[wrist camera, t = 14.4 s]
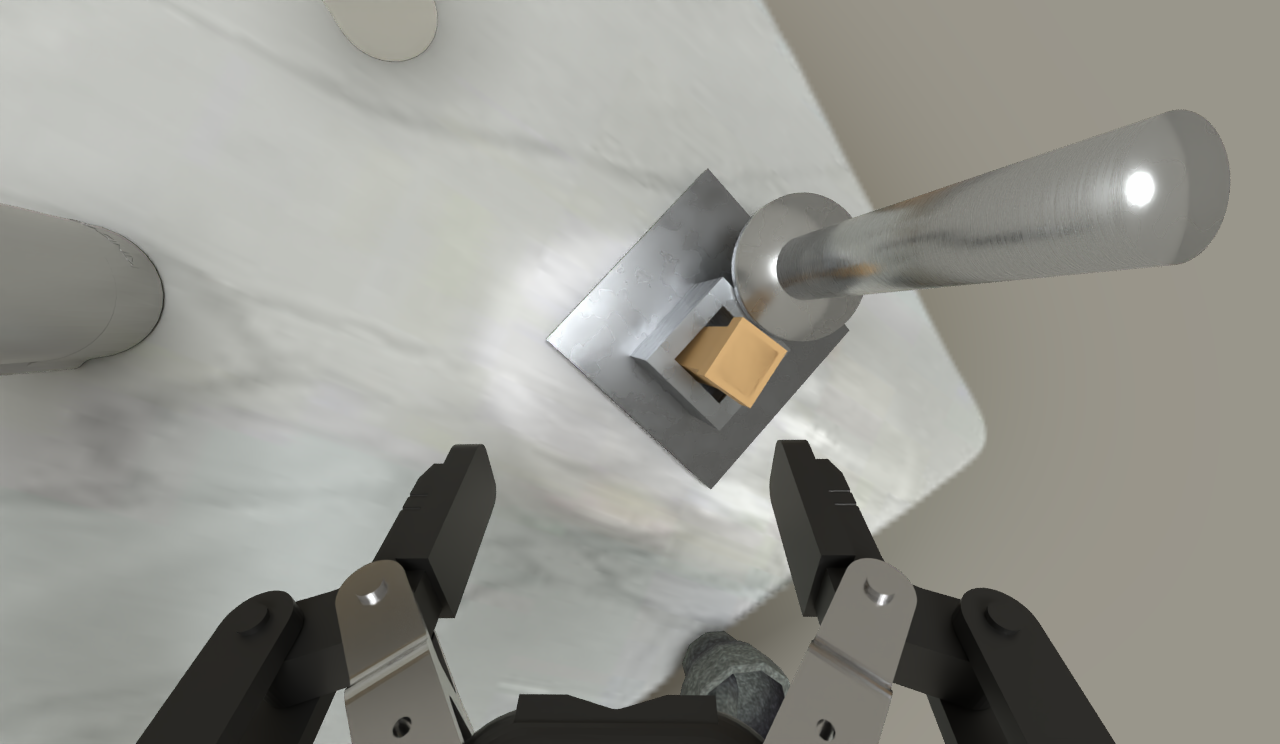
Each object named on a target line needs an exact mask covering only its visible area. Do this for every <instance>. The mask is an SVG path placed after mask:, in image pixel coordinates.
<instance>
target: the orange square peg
mask: <svg viewBox="0 0 1280 744" xmlns="http://www.w3.org/2000/svg"><path fill="white" fill-rule="evenodd" d="M786 352H787V350H786V349H784V348H783V347H782V346H780V345H779V344H778V343H776V342H775V341H774V340H773V339H771V338H770V337H769V336H767V335H766V334H765V333H763V332H762V331H761V330H759V329H758V328H757V327H756V326H754V325H753V324H752V323H750V322H749V321H748V320H746V319H745V318H744V317H733V319H732V320H731V322H730V324H729V325H728V327H703V328H702V329H701V330H700V332H699V333H698V334H697V335H696V336H695V337H694V338H693V339H692V340H691V341H690V343H689V344H688V345H687V346H686V347H685V348H684V349H683V350H682V351H681V353H680V354H679V355H678V356H677V357H676V358H675V359H674V360H675V361H676V362H677V363H678V364H680V365H681V366H682V367H683V368H684V369H685V370H686V371H687V372H688V373H689V374H690V375H691V376H692V377H693V378H694V379H695V380H696V381H697V382H699V383H702V384H705V385H708V386H711V387H714V388H718V389H719V390H721V391H722V392H723V393H725V394H726V395H728V396H729V397H731V398H732V399H733V400H735V401H736V402H738V403H739V404H740V405H743V406H746V407H748V408H751V407H752V405H753V403H754V402H755V400H756V399H757V397H758V396H759V394H760V393H761V391H762V390H763V388H764V386H765V385H766V383H767V382H768V380H769V379H770V377H771V376H772V374H773V373H774V371H775V369H776V368H777V366H778V365H779V363H780V362H781V360H782V359H783V357H784V355H785V354H786Z"/></svg>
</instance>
